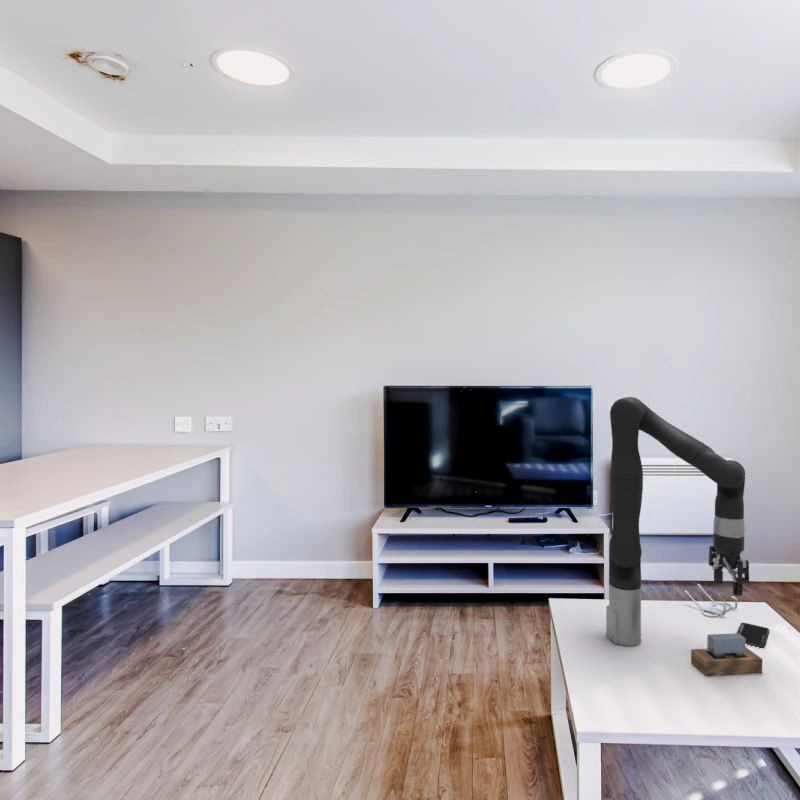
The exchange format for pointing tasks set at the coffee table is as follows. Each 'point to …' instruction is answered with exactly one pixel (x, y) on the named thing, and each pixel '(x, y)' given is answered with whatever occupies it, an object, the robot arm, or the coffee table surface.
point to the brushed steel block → (726, 645)
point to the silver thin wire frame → (715, 605)
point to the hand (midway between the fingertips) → (727, 589)
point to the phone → (754, 634)
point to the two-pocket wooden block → (726, 663)
